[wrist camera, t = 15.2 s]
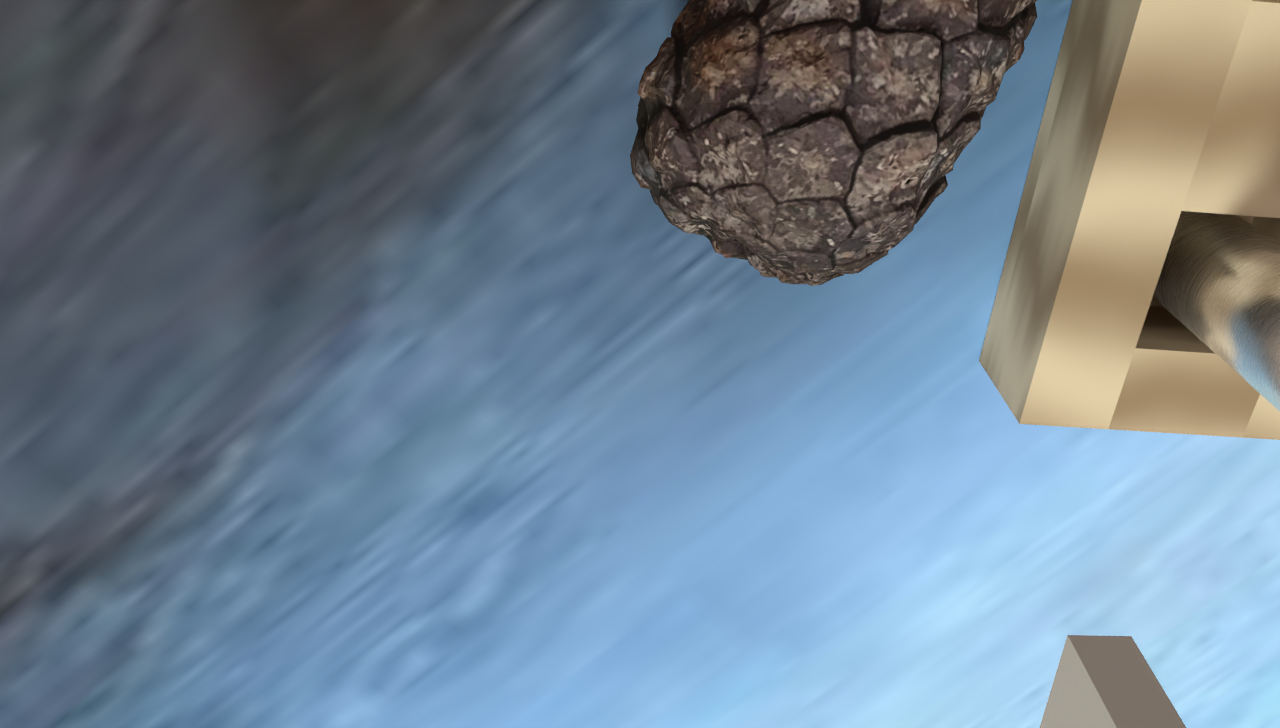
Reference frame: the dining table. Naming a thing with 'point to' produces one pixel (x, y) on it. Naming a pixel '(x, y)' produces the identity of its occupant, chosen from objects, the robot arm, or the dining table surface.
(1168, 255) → the steel pin
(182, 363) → the dining table surface
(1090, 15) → the hole block
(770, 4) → the pine cone
